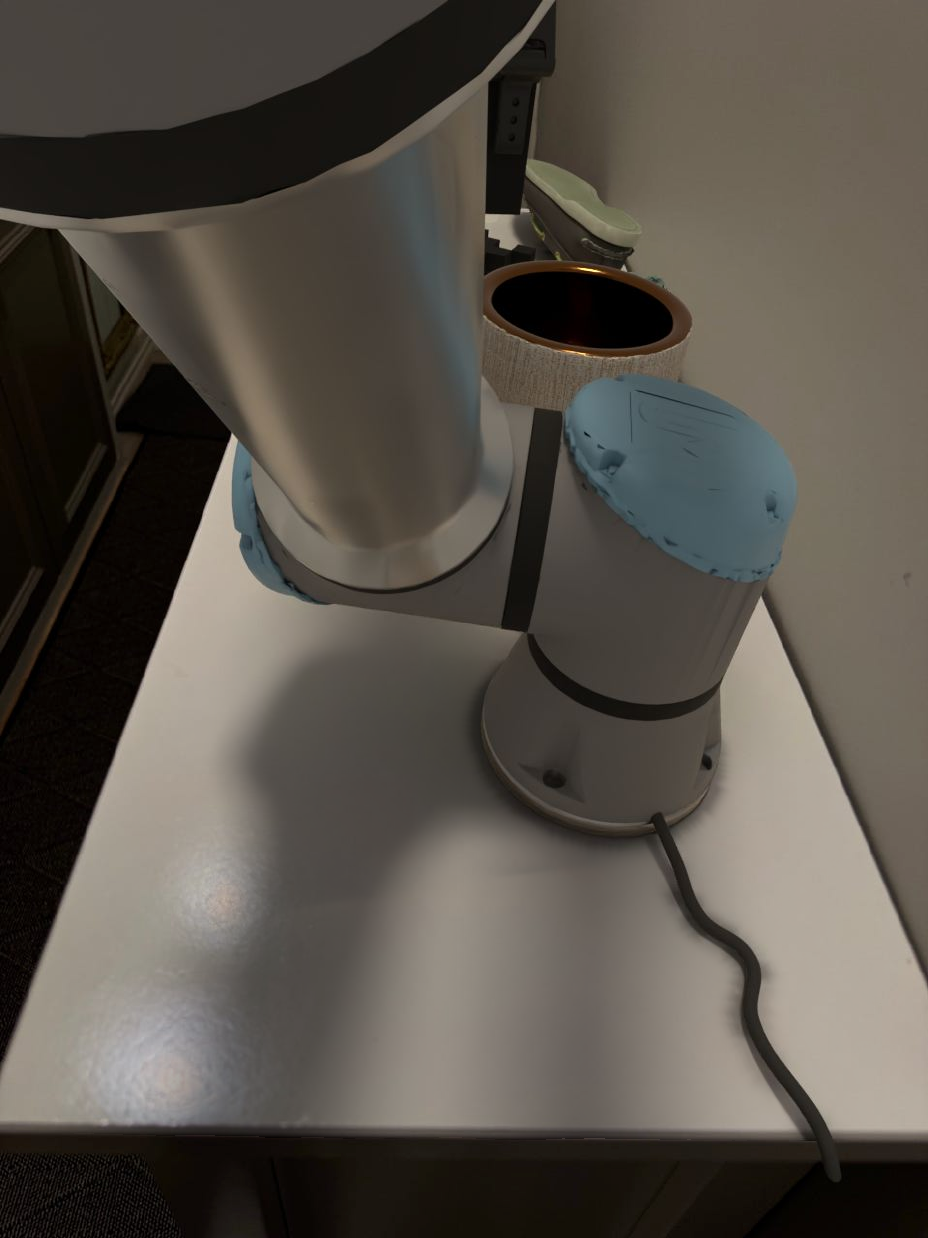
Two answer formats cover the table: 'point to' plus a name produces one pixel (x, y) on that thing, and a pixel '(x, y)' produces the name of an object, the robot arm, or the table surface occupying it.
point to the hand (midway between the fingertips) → (470, 173)
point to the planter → (576, 330)
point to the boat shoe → (576, 218)
